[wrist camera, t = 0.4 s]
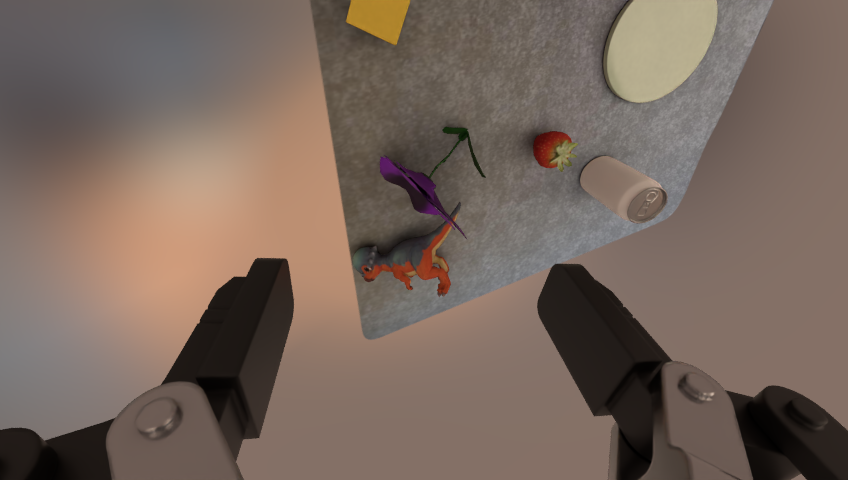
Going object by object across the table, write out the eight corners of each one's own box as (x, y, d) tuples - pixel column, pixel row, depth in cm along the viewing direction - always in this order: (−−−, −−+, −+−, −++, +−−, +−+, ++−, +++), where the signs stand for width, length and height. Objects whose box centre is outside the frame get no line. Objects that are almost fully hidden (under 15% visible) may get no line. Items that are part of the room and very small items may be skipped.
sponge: (360, -17, 37) (358, -29, 28) (401, 5, 38) (410, -1, 30) (350, 23, 39) (345, 22, 30) (390, 41, 40) (396, 45, 32)
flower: (413, 98, 49) (355, 164, 46) (475, 75, 36) (399, 164, 34) (467, 166, 56) (419, 226, 54) (534, 168, 43) (475, 247, 41)
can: (622, 156, 54) (680, 186, 44) (605, 192, 57) (654, 227, 47) (588, 152, 52) (639, 182, 42) (572, 189, 56) (616, 224, 46)
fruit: (551, 156, 52) (578, 175, 45) (520, 157, 51) (542, 177, 44) (559, 123, 49) (589, 138, 42) (525, 124, 48) (550, 140, 42)
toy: (411, 315, 59) (343, 267, 55) (429, 271, 65) (370, 226, 62) (481, 282, 45) (397, 216, 42) (495, 231, 52) (424, 171, 48)
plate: (629, -35, 39) (636, -36, 38) (732, -20, 42) (741, -21, 41) (586, 98, 47) (590, 99, 46) (674, 104, 50) (680, 105, 49)
